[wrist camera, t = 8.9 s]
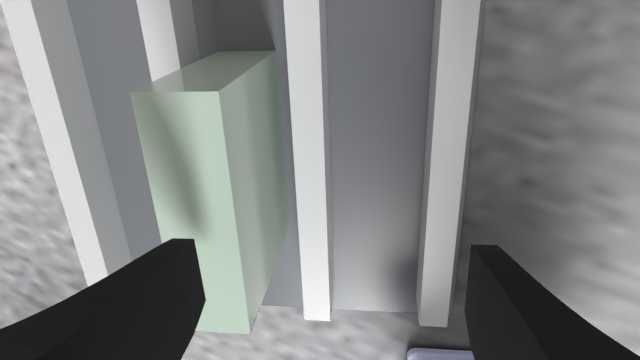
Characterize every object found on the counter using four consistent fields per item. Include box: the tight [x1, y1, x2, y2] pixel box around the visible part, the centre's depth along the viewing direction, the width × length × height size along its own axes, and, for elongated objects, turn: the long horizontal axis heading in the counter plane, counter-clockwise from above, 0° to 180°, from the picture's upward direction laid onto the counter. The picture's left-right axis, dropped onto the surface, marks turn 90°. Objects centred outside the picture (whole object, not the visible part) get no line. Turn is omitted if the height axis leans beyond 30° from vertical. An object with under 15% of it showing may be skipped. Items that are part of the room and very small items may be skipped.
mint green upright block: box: [130, 50, 289, 334], centre depth 16 cm, size 8×2×7 cm, turn 2°
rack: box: [0, 0, 486, 327], centre depth 19 cm, size 18×18×3 cm
